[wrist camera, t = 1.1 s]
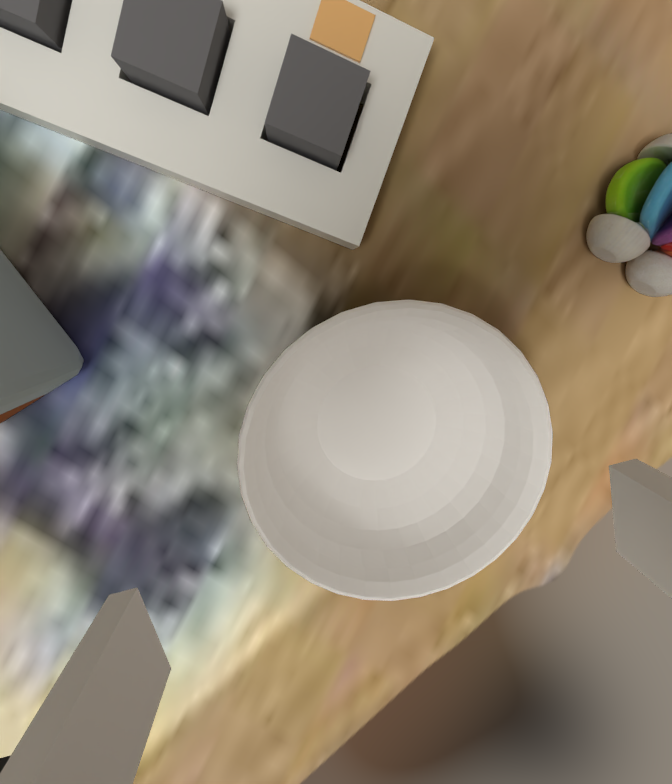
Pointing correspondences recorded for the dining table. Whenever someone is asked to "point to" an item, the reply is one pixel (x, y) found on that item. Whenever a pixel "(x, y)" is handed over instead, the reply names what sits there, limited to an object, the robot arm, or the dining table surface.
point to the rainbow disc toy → (639, 220)
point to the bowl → (395, 450)
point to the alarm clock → (29, 345)
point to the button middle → (173, 48)
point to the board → (229, 106)
